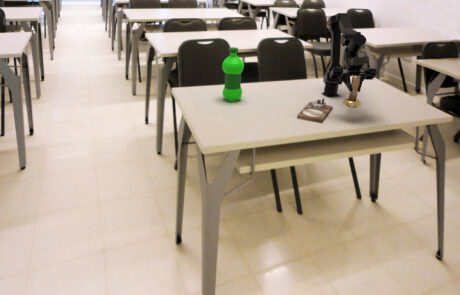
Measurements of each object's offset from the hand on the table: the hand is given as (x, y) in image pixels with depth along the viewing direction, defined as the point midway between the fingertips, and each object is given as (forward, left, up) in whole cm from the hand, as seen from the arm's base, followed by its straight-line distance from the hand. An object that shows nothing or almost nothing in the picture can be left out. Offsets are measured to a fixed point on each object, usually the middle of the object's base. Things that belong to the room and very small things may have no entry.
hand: (355, 91), depth 156 cm
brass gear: (-1, -1, -7) cm, 7 cm away
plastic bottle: (+34, -46, -14) cm, 58 cm away
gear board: (+8, -14, -13) cm, 21 cm away
